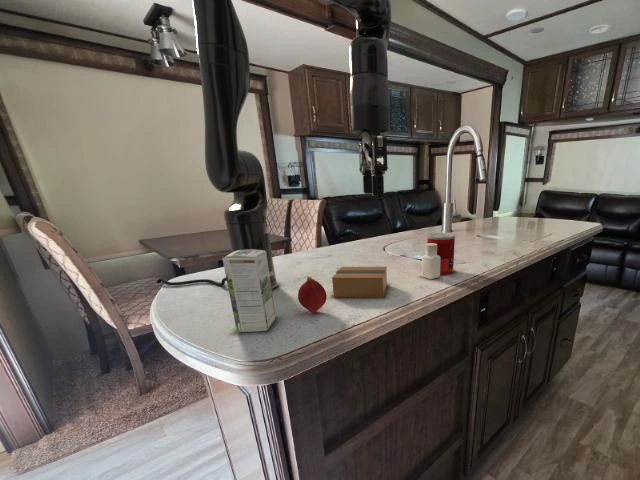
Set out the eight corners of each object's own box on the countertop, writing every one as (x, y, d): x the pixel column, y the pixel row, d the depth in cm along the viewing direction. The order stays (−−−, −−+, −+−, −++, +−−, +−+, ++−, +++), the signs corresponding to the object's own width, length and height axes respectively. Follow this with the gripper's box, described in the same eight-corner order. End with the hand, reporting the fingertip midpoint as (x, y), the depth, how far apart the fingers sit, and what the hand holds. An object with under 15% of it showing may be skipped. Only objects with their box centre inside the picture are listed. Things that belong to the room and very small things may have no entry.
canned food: (454, 274, 92) (456, 237, 88) (427, 275, 93) (428, 237, 89) (451, 268, 100) (452, 232, 96) (426, 268, 100) (426, 233, 96)
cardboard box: (333, 297, 76) (331, 277, 74) (342, 284, 85) (341, 266, 84) (383, 297, 75) (382, 277, 74) (387, 284, 85) (386, 266, 83)
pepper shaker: (420, 277, 91) (421, 244, 87) (430, 274, 93) (431, 242, 90) (430, 280, 88) (431, 246, 85) (440, 277, 90) (441, 244, 87)
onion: (331, 307, 70) (328, 272, 67) (323, 317, 65) (318, 280, 62) (306, 306, 71) (301, 272, 68) (295, 317, 65) (290, 280, 62)
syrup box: (247, 320, 64) (233, 249, 59) (277, 319, 65) (265, 248, 59) (236, 333, 59) (219, 256, 54) (269, 331, 59) (255, 255, 54)
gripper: (345, 112, 66) (349, 193, 72) (358, 96, 53) (362, 196, 59) (379, 113, 68) (381, 192, 74) (400, 98, 56) (400, 195, 61)
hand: (373, 194), depth 67 cm, fingers open, 8 cm apart
